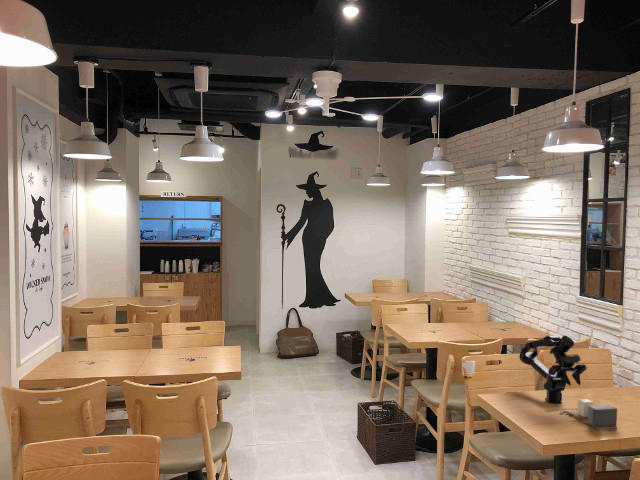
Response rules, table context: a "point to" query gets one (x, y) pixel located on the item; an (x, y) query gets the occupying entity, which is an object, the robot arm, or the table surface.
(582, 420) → the board
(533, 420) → the table surface
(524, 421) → the table surface
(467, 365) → the white cup
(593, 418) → the socket housing
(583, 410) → the plug
